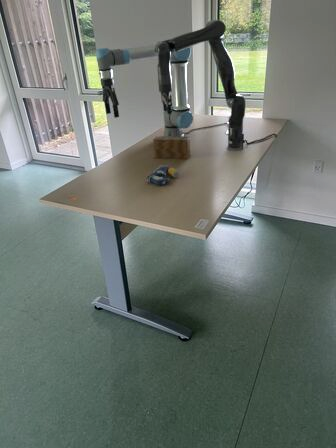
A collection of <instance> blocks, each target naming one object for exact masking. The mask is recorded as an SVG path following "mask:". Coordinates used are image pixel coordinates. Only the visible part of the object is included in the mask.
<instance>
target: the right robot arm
mask: <svg viewBox="0 0 336 448" xmlns="http://www.w3.org/2000/svg"><path fill="white" fill-rule="evenodd" d="M226 31H227V27H226V24H225V22H224V21H222V20H219V19H214V20H209V21H207V23H206V24H205V26H204V27H203V28H200V29H197V30H193V31H190V32H185V33H183V34H182V33H181V34H180V35H177V36H174V37H173V38H172V37H171V38H169V39H166V40H162V42H161V41H158V42H159V43H157V44H156V46H155V48H154V51H155V53H156V55H157V56H158V60H157V62H158V63H157V83H158V92H159V93H160V97H161V98H160V100H161V103H162V104H161V105H162V107H163V108H162V109H164V111H167V113H168V114H171V106H172V105H173V99H172V94H170V93H171V92H172V91H173V80H172V73H171V64H170V55H171V53H172V52H178V51H181V50H184V49H186V48H189V47H191V48H192V47H193V46H196V45H199V44H202V43H205V42H207V43H208V44H209V46H210V49H211V52H212V55H213V61H214V62H215V63H214V64H215V67H216V70H217V73H218V76H219V79H220V83H221V85H222V89H223V93H224V99H225V103H226V106H227V108H229V109H230V110H231V111H230V116H228V119H227V120H228V121H227V122H228V123H227V124H228V125H227V131H228V134H227V149H228V150H229V151H230V150H231V151H238V150H241V149H244V146H245V145H244V144H247V145H250V144H253V143H256V142H260V141H264V140H266V139H267V138H270V137H272V136H275V137H276V136H277V134H276V133H271V134H269V135H267V136H265V137H262V138H260V139H256V140H253V141H250V142H248V140H246V139H245V133H244V118H245V117H246V115H245V114H246V99H245V96H243V95H240V94H239V93H238V90H237V89H236V88H237V87H236V85H235V78H236V77H235V76H236V72H235V71H236V69H235V66H234V63H233V60H232V58H231V56H230V53H229V52H228V50H227V49H226V47H225V45H224V42H223V37H224V36H225V34H226Z"/></svg>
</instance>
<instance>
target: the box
mask: <svg viewBox="0 0 336 448" xmlns="http://www.w3.org/2000/svg"><path fill="white" fill-rule="evenodd" d="M152 141H153V152H154V158H155V159H176V160H177V159H179V160H188V159H189V158H190V157H191V145H190V144H191V143H190V136H184V137H163V136H155V137H154V138H153V139H152Z"/></svg>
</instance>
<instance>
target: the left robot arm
mask: <svg viewBox="0 0 336 448" xmlns="http://www.w3.org/2000/svg"><path fill="white" fill-rule="evenodd" d="M162 41H163V40H162ZM162 41H156V42H155V43H154V44H146V45H139V46H131V47H124V48H116V49H109V48H108V47H102V48H101V47H100V48H96V50H95V56H96V62H97V67H98V75H99V79H100V85H101V88H102V102H103V103H104V109H105V113H106V115H108V114H111V113H112V110H113V117H114V118H116V119H117V118H120V113H119V107H118V106H119V105H120V103H119V101H118V97H117V93H116V90H115V87H113V86H114V85H115V81H114V73H113V67H115V66H121V65H122V66H123V65H128V64H130V63H131V62H134V61H142V60H147V59H148V60H149V59H155V58H156V59H158V56H157V55H156V53H155V51H154V48H155V46H156V44H157V43H159V42H162ZM191 55H192V46H191V47H189V48H186V49H184V50H181V51H178V52H172V53H171V55H170V66H171V67H172V79H173V80H172V84H173V97H174V99H173V100H174V104H172V106H171V114H168V113H167V111H164V109H163V108H162V109H163V122H164V130H163V135H162V137H185V136H184V134H186V135H187V134H190V132H193V131H195V130H196V131H197V130H200V129H206V128H213V127H219V126H223V125H227V124H228V121H227V122H224V123H219V124H213V125H209V126H203V127H196V128H192V129H190V130H189V131H187V132H183V129H188V128H190V126H191V125H192V124H193V122H194V115H193V113H192V112H191V107H190V105H189V104H188V85H187V83H188V81H187V65H188V63H189V58H190V56H191ZM110 101H111V104H112V110H111V104H110Z"/></svg>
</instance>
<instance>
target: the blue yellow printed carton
mask: <svg viewBox="0 0 336 448" xmlns="http://www.w3.org/2000/svg"><path fill="white" fill-rule="evenodd" d="M167 175H169V176H171V177H172V178H174V179H178V177H179V176H180V171H179V170H177V169H176V168H174V167H170V166H169V165H168V164H167V165H159V166H158V167H157V168H156V169H155V170H154V171H153V172H151V173H150V174H149V175H148V176H146V182H148V183H150V184H151V183H153V184H154V185H157V186H162V185H166V184H167V183H168V182H169V180H170V179H169V177H167Z"/></svg>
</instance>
